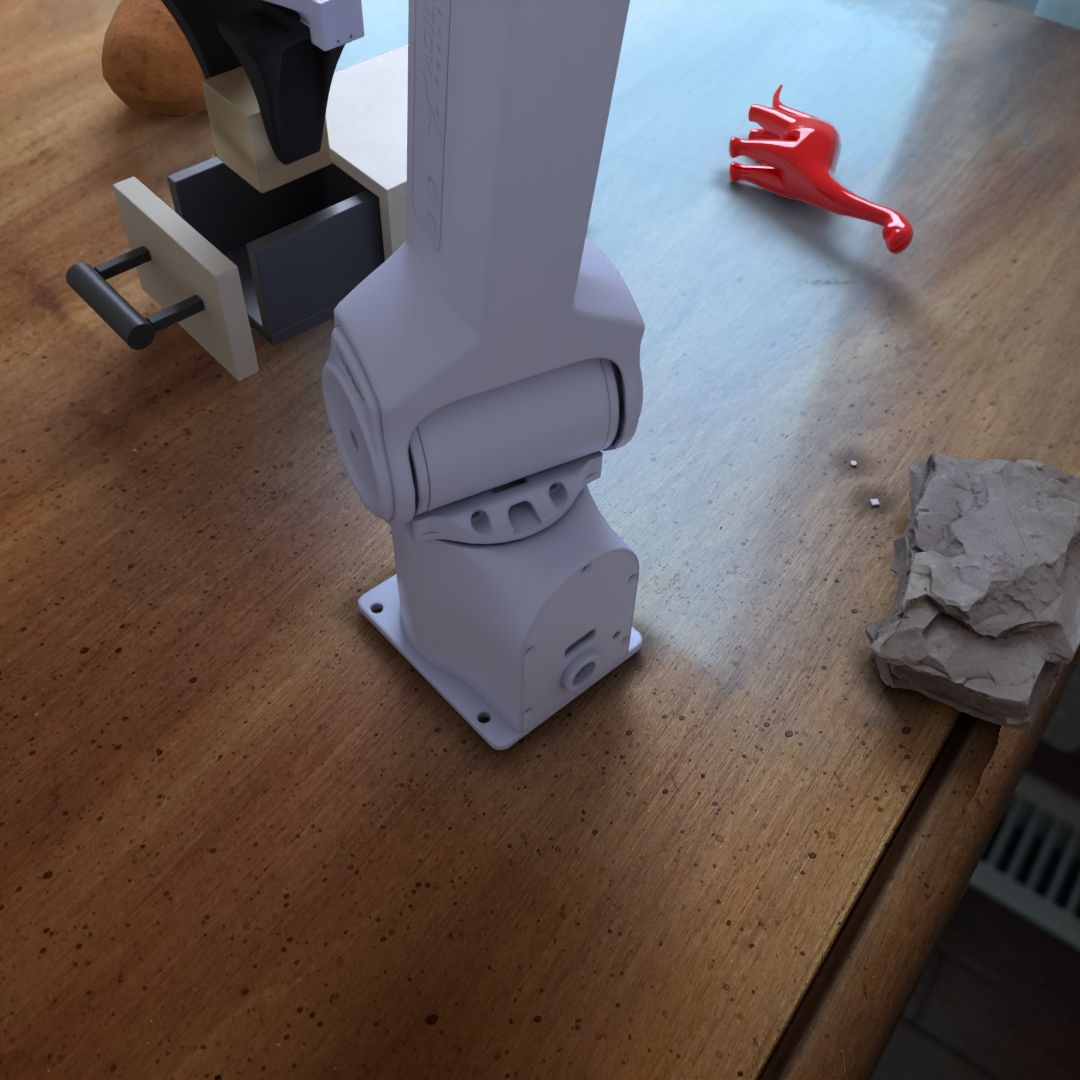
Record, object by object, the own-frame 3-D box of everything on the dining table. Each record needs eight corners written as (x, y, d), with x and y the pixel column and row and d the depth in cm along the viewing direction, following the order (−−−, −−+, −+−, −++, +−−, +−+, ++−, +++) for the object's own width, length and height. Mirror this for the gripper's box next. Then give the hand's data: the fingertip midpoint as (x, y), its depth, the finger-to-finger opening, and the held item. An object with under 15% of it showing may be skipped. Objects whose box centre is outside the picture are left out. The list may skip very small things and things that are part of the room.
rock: (1080, 764, 46) (1120, 712, 43) (848, 692, 48) (870, 638, 45) (1105, 513, 54) (1140, 455, 51) (904, 460, 56) (926, 400, 53)
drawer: (164, 419, 56) (132, 314, 51) (69, 321, 61) (32, 216, 56) (425, 287, 63) (419, 183, 58) (323, 208, 68) (309, 105, 63)
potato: (291, 68, 79) (275, -47, 74) (223, 158, 72) (199, 38, 67) (163, 49, 81) (137, -66, 75) (83, 135, 74) (48, 16, 68)
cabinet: (398, 324, 63) (387, 190, 56) (285, 232, 68) (263, 99, 61) (575, 233, 68) (582, 102, 62) (458, 154, 73) (454, 25, 67)
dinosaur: (777, 113, 78) (971, 140, 73) (688, 242, 69) (901, 282, 64) (779, 55, 75) (981, 79, 70) (687, 182, 66) (909, 220, 62)
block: (332, 164, 57) (323, 87, 54) (262, 194, 56) (247, 116, 53) (286, 129, 59) (274, 53, 56) (216, 158, 58) (200, 80, 55)
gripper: (36, -215, 48) (119, 99, 58) (231, -96, 41) (286, 236, 51) (190, -250, 51) (243, 54, 61) (395, -146, 44) (416, 177, 54)
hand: (271, 134), depth 57 cm, fingers closed on block, 4 cm apart
